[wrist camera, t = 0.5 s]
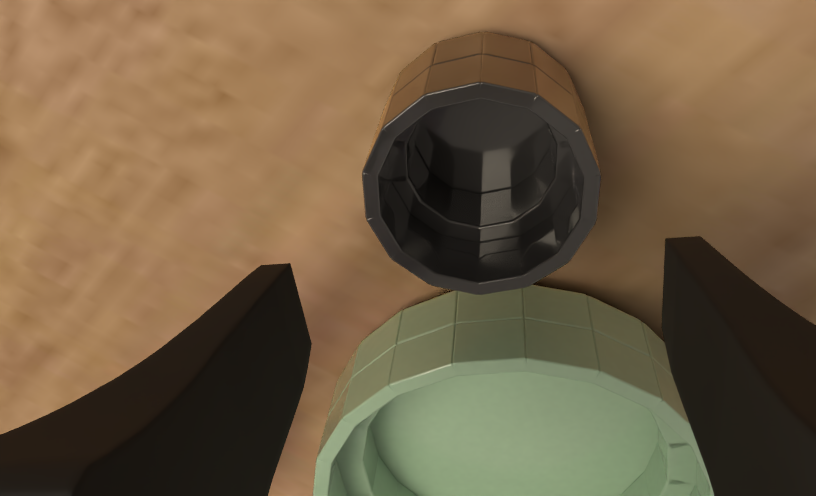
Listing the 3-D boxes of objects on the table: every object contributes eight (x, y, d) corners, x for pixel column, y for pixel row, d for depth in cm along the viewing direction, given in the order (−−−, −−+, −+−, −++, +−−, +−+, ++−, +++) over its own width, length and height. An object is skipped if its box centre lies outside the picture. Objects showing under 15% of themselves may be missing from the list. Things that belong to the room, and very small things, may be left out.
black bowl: (440, 237, 24) (430, 323, 20) (349, 81, 21) (318, 144, 18) (611, 169, 22) (634, 249, 18) (533, -11, 19) (542, 39, 16)
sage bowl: (434, 564, 32) (426, 660, 29) (270, 350, 27) (235, 436, 23) (740, 490, 28) (775, 591, 25) (620, 217, 23) (643, 298, 19)
